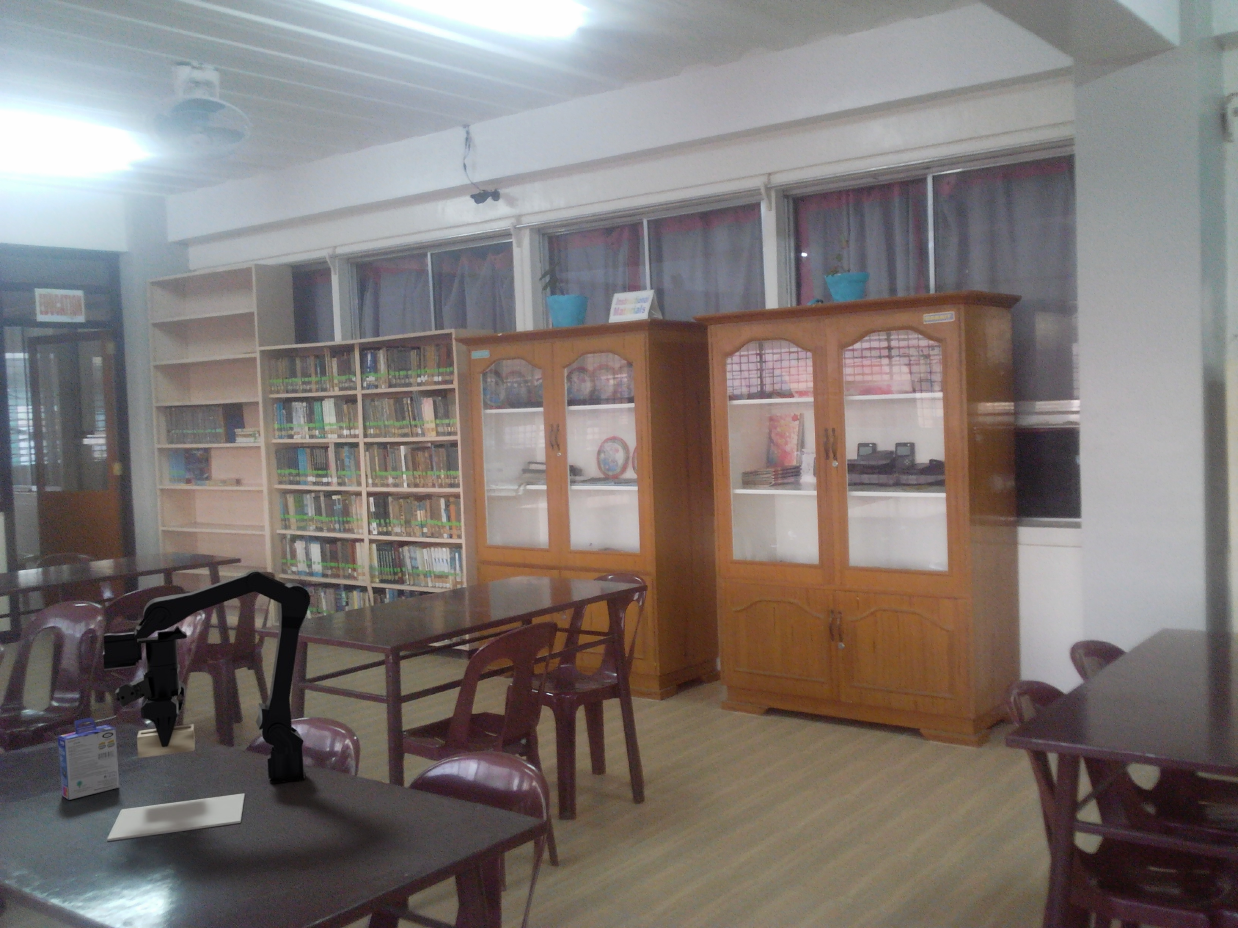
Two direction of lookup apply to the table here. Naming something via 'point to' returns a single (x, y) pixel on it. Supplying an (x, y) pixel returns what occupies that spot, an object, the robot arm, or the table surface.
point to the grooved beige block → (178, 743)
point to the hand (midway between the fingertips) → (166, 742)
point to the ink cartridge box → (88, 760)
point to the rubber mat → (177, 817)
